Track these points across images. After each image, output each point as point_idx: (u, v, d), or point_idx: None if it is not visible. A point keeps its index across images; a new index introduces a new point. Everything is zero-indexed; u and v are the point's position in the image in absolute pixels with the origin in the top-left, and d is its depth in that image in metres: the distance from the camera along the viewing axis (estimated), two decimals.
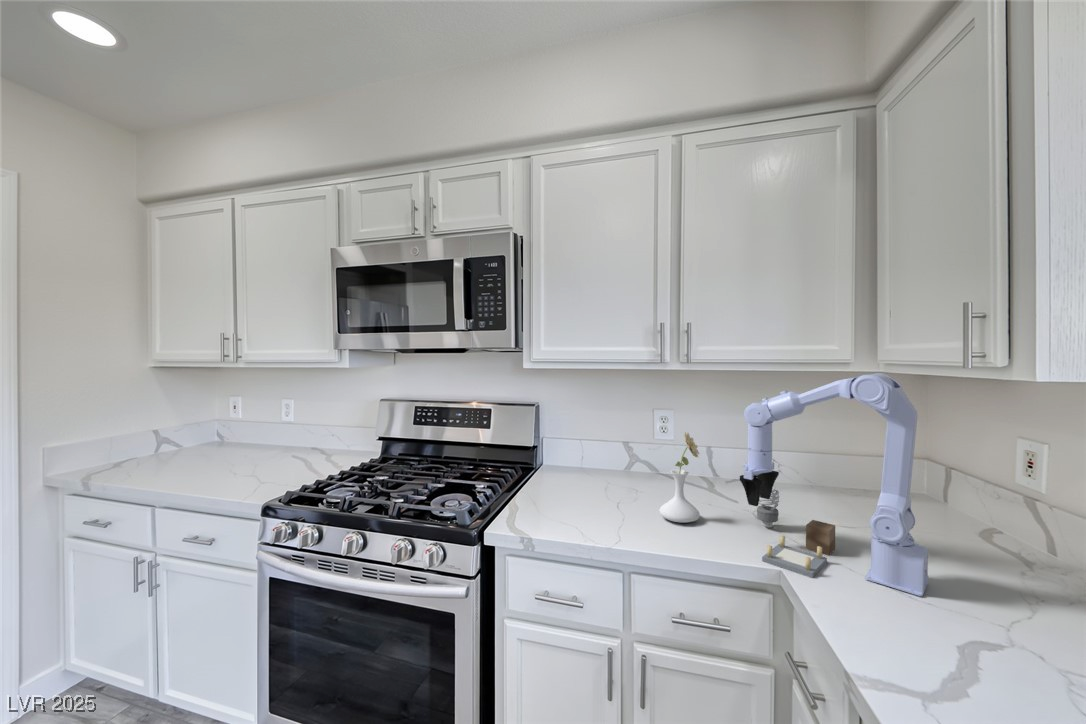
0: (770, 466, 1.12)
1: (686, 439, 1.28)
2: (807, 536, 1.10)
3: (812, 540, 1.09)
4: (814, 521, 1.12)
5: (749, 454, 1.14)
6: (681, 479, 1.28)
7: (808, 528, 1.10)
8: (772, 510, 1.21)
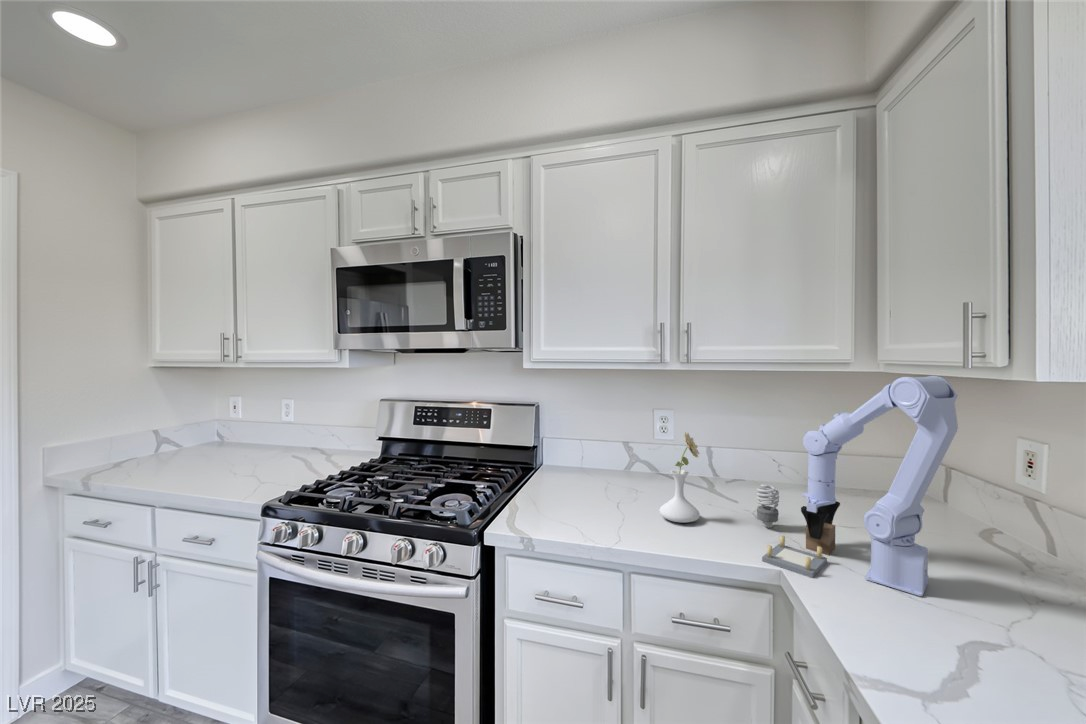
0: (833, 497, 1.07)
1: (686, 439, 1.28)
2: (807, 536, 1.10)
3: (812, 540, 1.09)
4: None
5: (810, 484, 1.09)
6: (681, 479, 1.28)
7: None
8: (772, 510, 1.21)
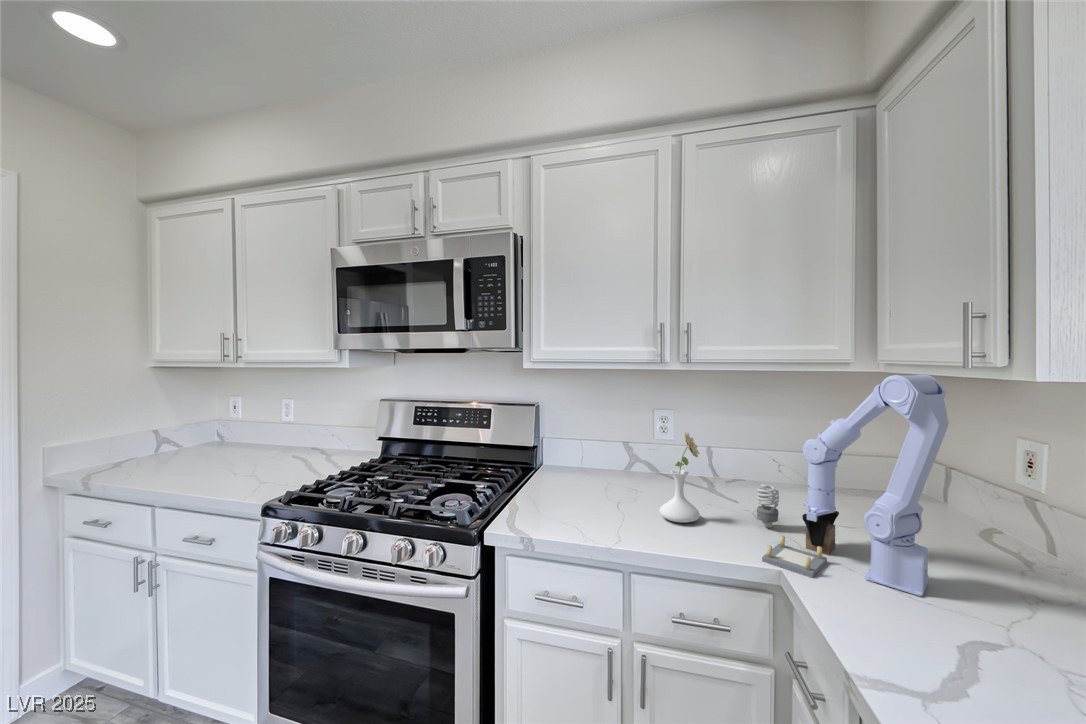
0: (833, 506, 1.07)
1: (686, 439, 1.28)
2: (807, 536, 1.10)
3: None
4: None
5: (810, 493, 1.09)
6: (681, 479, 1.28)
7: None
8: (772, 510, 1.21)
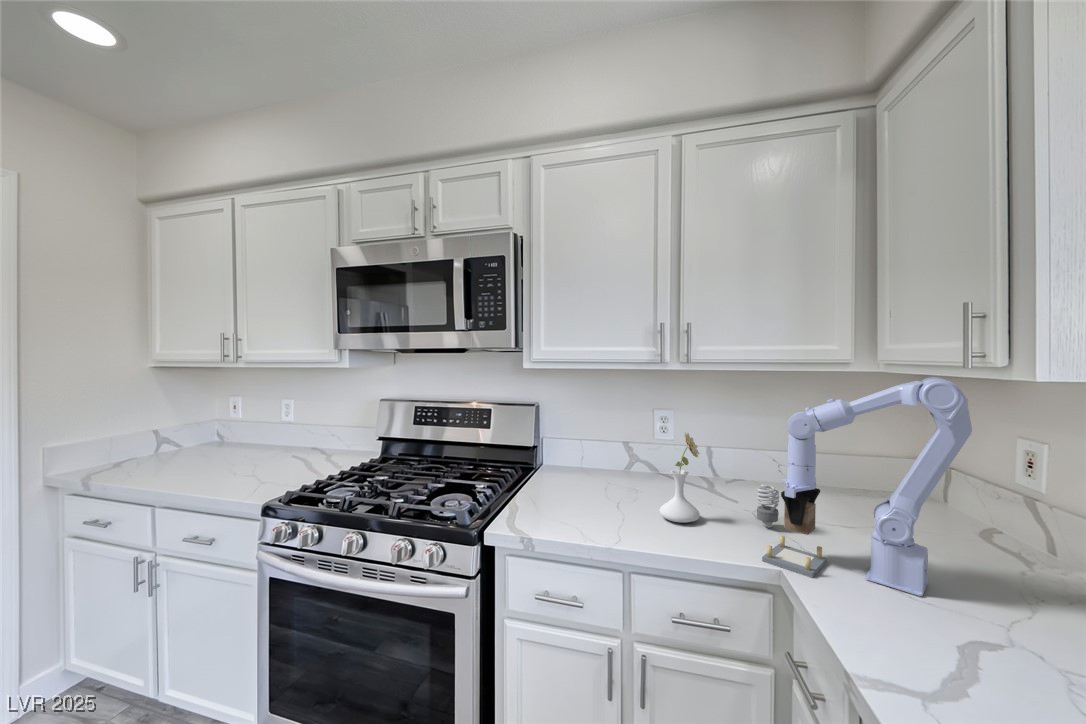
0: (813, 483, 1.02)
1: (686, 439, 1.28)
2: (786, 515, 1.05)
3: None
4: None
5: (790, 469, 1.04)
6: (681, 479, 1.28)
7: None
8: (772, 510, 1.21)
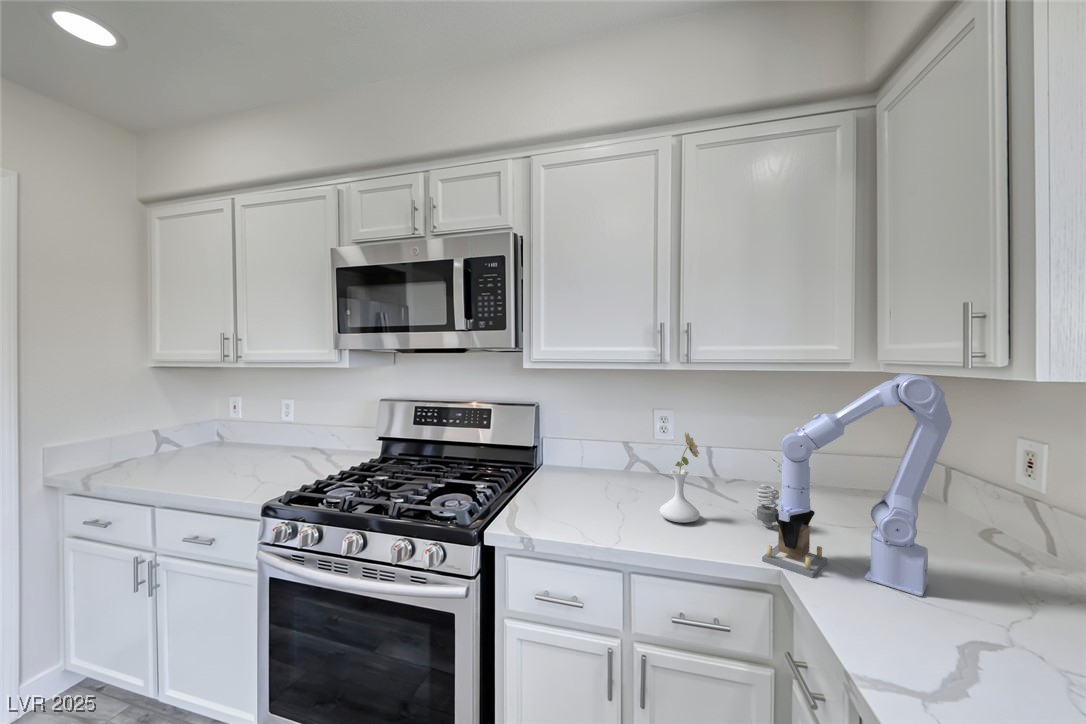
0: (808, 505, 1.01)
1: (686, 439, 1.28)
2: (780, 537, 1.03)
3: None
4: None
5: (784, 491, 1.03)
6: (681, 479, 1.28)
7: None
8: (772, 510, 1.21)
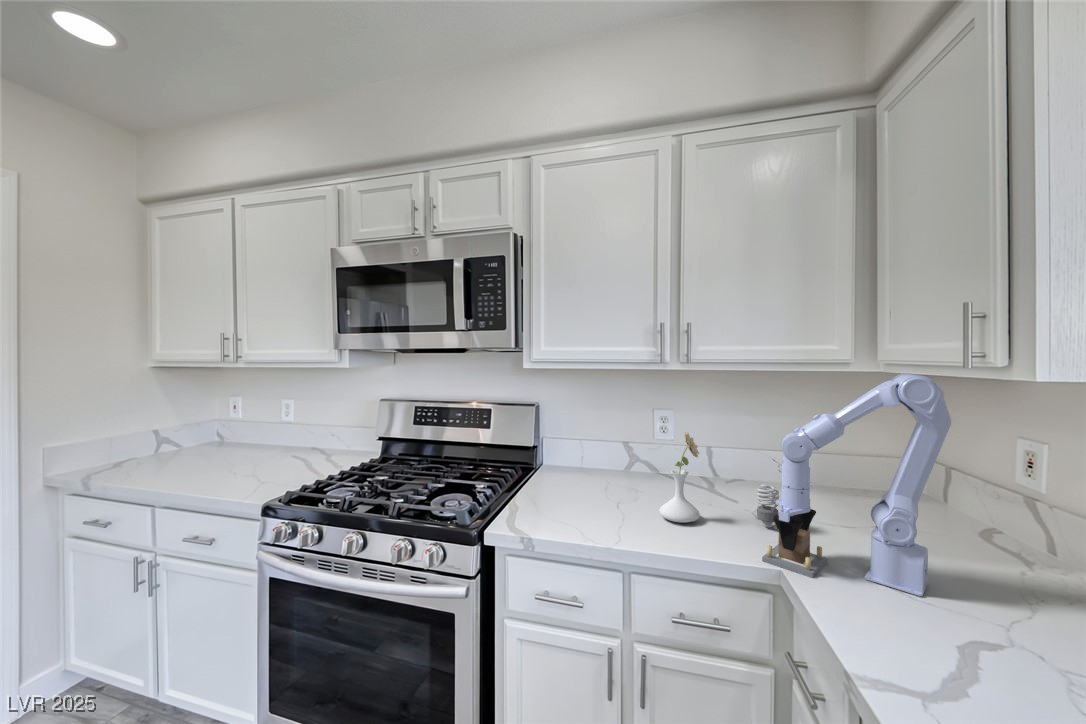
0: (808, 506, 1.01)
1: (686, 439, 1.28)
2: (780, 543, 1.03)
3: None
4: None
5: (784, 491, 1.03)
6: (681, 479, 1.28)
7: None
8: (772, 510, 1.21)
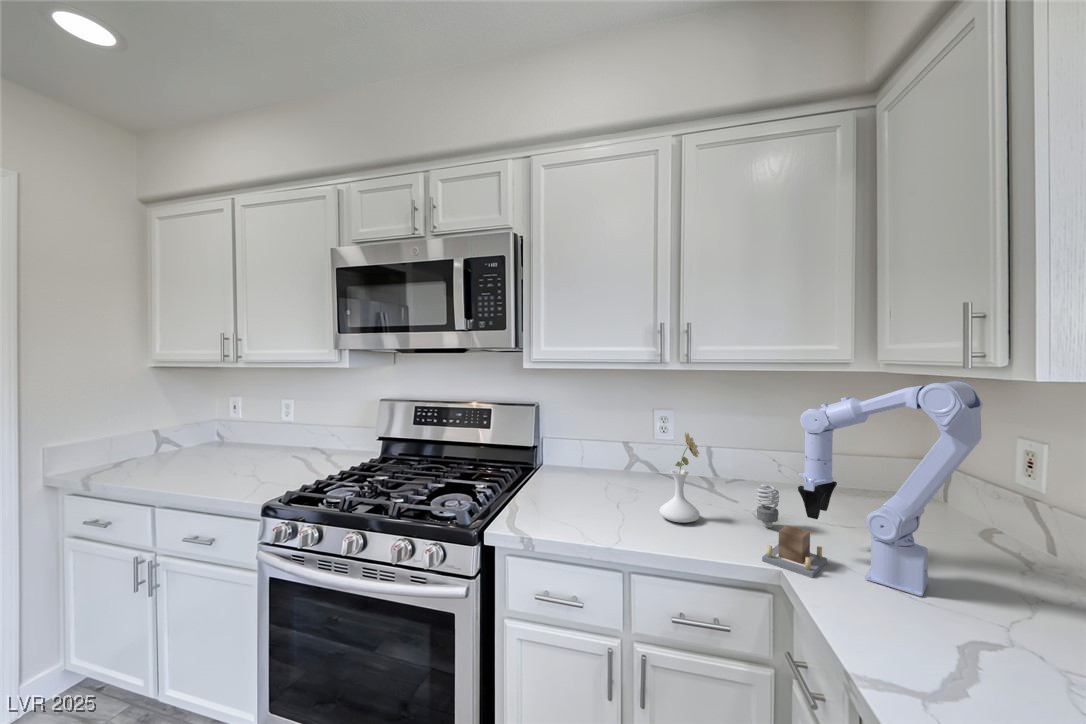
0: (830, 476, 1.05)
1: (686, 439, 1.28)
2: (780, 543, 1.03)
3: (785, 548, 1.02)
4: (788, 527, 1.06)
5: (807, 463, 1.07)
6: (681, 479, 1.28)
7: (781, 534, 1.03)
8: (772, 510, 1.21)
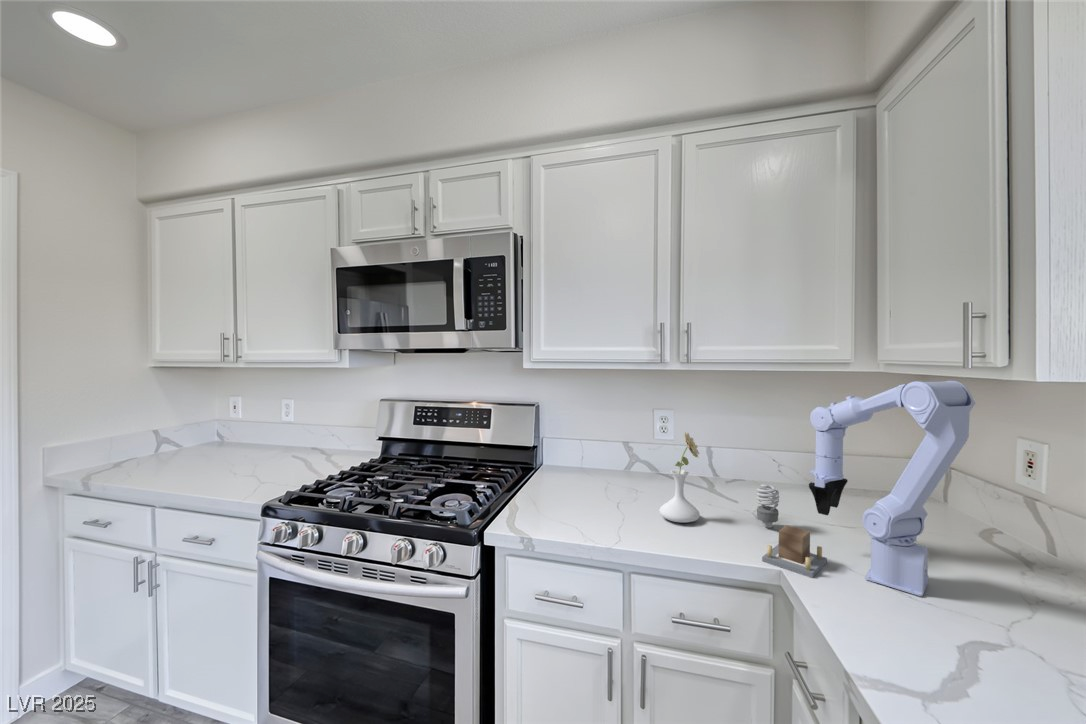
0: (841, 473, 1.08)
1: (686, 439, 1.28)
2: (780, 543, 1.03)
3: (785, 548, 1.02)
4: (788, 527, 1.06)
5: (818, 461, 1.10)
6: (681, 479, 1.28)
7: (781, 534, 1.03)
8: (772, 510, 1.21)
